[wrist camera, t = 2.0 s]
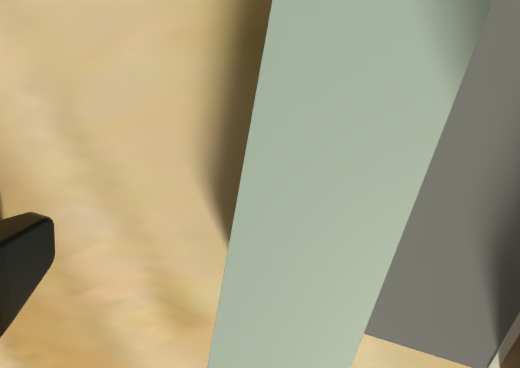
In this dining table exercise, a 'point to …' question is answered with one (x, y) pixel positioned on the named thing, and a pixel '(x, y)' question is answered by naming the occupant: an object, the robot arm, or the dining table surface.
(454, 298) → the grey flat rectangular slab
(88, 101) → the dining table surface
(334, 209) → the beam
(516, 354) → the pillar
